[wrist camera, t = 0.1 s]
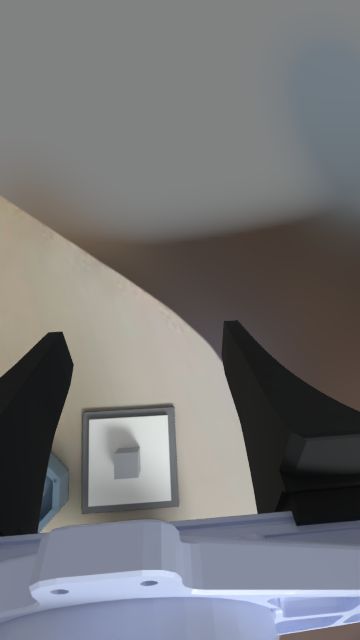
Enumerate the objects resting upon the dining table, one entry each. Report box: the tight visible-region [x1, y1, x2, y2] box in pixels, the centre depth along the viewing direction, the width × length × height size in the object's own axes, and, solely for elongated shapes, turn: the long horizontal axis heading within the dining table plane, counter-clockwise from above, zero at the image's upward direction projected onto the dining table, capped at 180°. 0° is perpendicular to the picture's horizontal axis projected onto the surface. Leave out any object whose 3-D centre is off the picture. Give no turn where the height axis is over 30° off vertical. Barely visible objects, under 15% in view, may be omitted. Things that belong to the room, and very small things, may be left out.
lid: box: [88, 415, 171, 507], centre depth 40 cm, size 11×11×4 cm
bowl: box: [38, 453, 69, 533], centre depth 39 cm, size 9×9×4 cm
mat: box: [82, 407, 179, 514], centre depth 42 cm, size 13×13×1 cm
